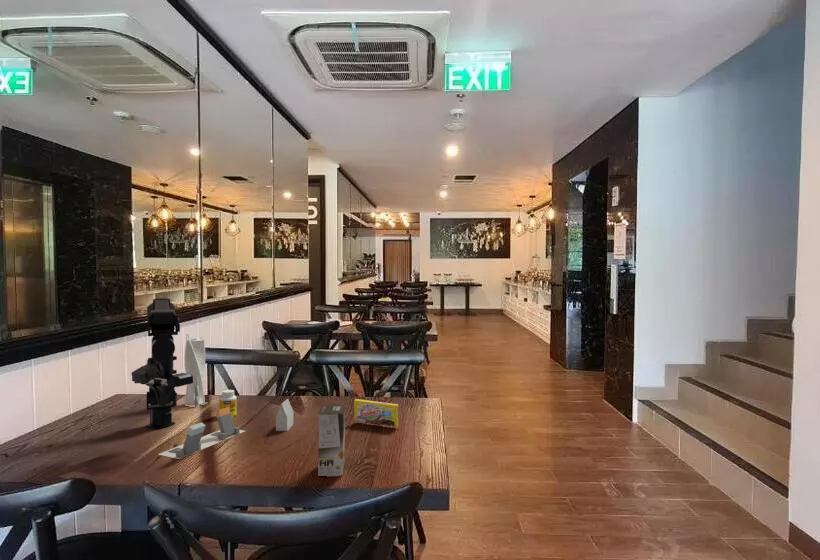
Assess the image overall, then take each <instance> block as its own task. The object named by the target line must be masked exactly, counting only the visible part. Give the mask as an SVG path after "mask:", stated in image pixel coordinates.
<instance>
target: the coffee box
mask: <svg viewBox="0 0 820 560" xmlns="http://www.w3.org/2000/svg"><path fill="white" fill-rule="evenodd" d="M345 441H346V404H344V403H343V404H342V403H341V404H338V403H337V404H332V403H331V404H322V406H321V408H320V409H319V411H318V446H317V447H318V450H317V452H318V454H317V455H318V456H317V458H318V459H317V460H318V462H317V466H318V467H317V477H318V476H327V477H342V476H343V475H344V474H343V473H344V468H345V463H344V462H345V461H346V460H345V456H346V455H345V453H346V452H345V451H346V449H345V447H346V442H345ZM338 475H340V476H338ZM341 475H342V476H341Z"/></svg>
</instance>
